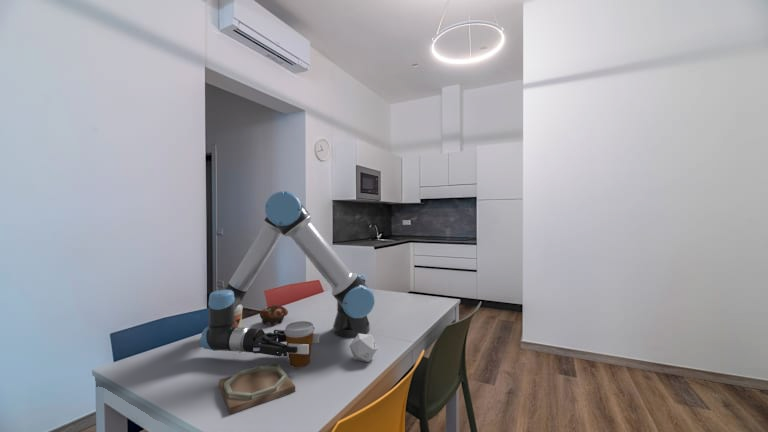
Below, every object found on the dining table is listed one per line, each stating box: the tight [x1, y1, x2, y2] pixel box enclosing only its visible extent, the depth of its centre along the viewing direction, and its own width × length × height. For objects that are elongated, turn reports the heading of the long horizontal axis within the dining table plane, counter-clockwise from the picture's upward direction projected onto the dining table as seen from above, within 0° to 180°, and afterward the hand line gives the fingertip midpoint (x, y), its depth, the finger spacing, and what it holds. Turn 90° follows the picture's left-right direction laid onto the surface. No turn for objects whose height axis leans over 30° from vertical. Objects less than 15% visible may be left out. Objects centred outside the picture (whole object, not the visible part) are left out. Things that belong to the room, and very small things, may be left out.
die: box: [348, 333, 378, 363], centre depth 101 cm, size 8×9×10 cm
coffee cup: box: [234, 303, 244, 327], centre depth 121 cm, size 9×9×12 cm
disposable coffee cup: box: [283, 320, 316, 368], centre depth 98 cm, size 10×10×12 cm
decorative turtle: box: [259, 305, 289, 326], centre depth 137 cm, size 10×15×8 cm, turn 158°
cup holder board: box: [218, 363, 296, 415], centre depth 84 cm, size 16×16×2 cm
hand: (313, 343), depth 98 cm, fingers closed on disposable coffee cup, 8 cm apart
